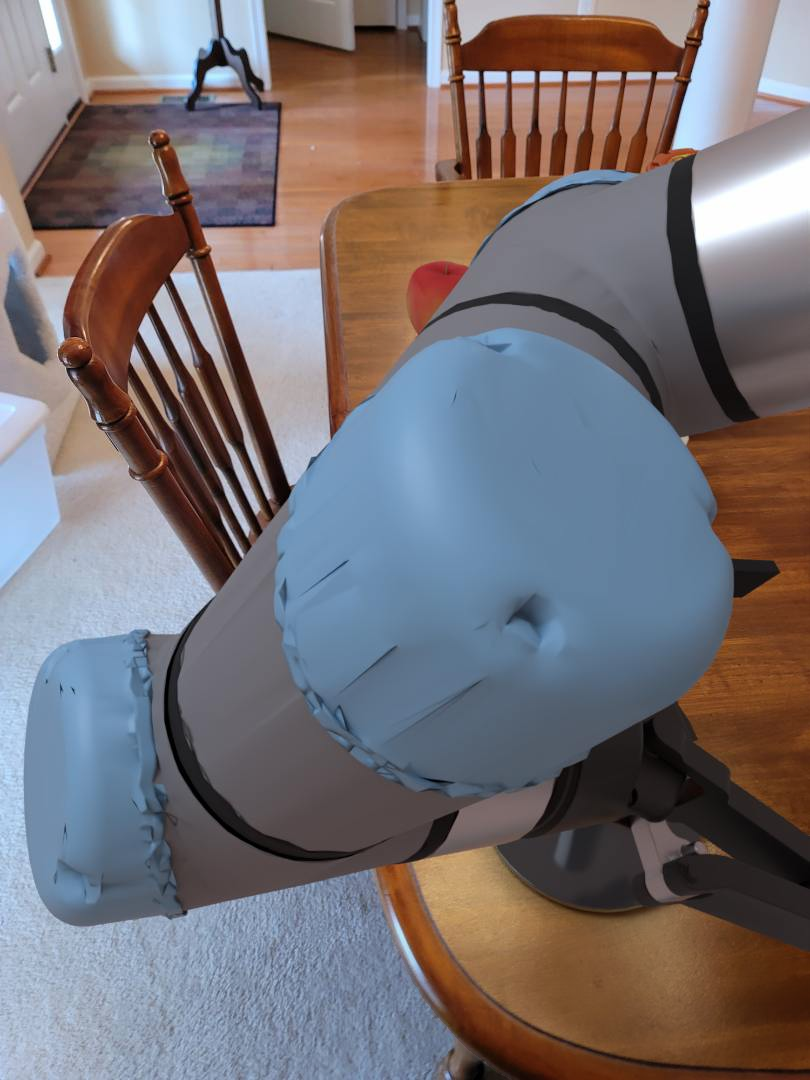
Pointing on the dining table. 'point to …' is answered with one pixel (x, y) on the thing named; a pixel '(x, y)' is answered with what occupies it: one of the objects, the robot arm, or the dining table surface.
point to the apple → (431, 290)
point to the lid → (583, 865)
